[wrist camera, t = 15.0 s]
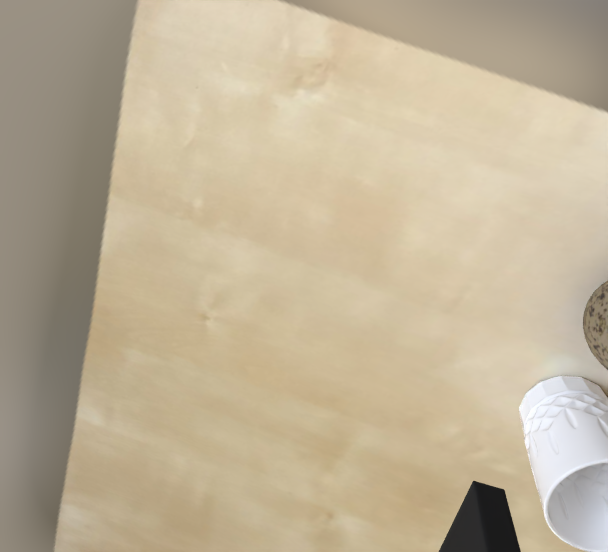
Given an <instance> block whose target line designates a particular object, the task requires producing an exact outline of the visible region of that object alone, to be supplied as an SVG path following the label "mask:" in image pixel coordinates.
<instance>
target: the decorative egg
mask: <svg viewBox="0 0 608 552" xmlns="http://www.w3.org/2000/svg"><path fill="white" fill-rule="evenodd" d="M583 329H584V334H585V338H586V341H587V343H588V345H589V347H590V350H591V351H592V353H593V354H594V356H595V357H596V358H597V360H598V361H599V362H600V363H601V364H602V365H603V366H604V367H605V368H606V369H607V370H608V281H606V282H605V283H604V284H602V285H601V286H600V287H599V288H598V289H597V290H596V291H595V292H594V293H593V295H592V296H591V297H590V299H589V301H588V303H587V305H586V308H585V311H584V317H583Z"/></svg>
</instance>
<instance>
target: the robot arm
mask: <svg viewBox="0 0 608 552" xmlns="http://www.w3.org/2000/svg"><path fill="white" fill-rule="evenodd" d="M439 552H521V551H520V548H519V544H518V540H517V536H516V532H515V529H514V525H513V521H512V517H511V513H510V510H509V506H508V502H507V498H506V494H505V491H504V489H500V488H497V487H493V486H490V485H486V484H483V483H479V482H476V481H473V482H472V485H471V487H470V489H469V491H468V493H467V495H466V497H465V499H464V501H463V503H462V505H461V507H460V509H459V511H458V513H457V515H456V517H455V519H454V521H453V524H452V526H451V528H450V530H449V532H448V534H447V536H446V538H445V540H444V542H443V544H442V546H441V548H440V550H439Z"/></svg>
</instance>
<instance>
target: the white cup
mask: <svg viewBox="0 0 608 552" xmlns="http://www.w3.org/2000/svg"><path fill="white" fill-rule="evenodd" d="M519 412H520V420H521V426H522V429H523V432H524V440H525V445H526V448H527V453H528V457H529V460H530V464H531V469H532V473H533V476H534V480H535V483H536V487H537V490H538V494H539V497H540V501H541V505H542V508H543V512H544V515H545V519H546V522H547V524H548V526H549V527H550V529H551V530H552V531H553V532H554V534H555V535H556V536H557V537H559V538H560V539H561V540H563V541H564V542H566V543H567V544H569V545H571V546H573V547H575V548H578V549H581V550H584V551H588V552H608V397H607V396H606V395H605V393H604V392H603V391H602V389H601V388H600V387H599V385H597V384H595V383H593V382H591V381H588V380H586V379H584V378H582V377H575V376H557V377H554V378H550V379H547V380H544V381H541V382H539V383H538V384H537V385H535V386H534V387H533V388H532V389H531V390H529V391H528V392H527V393H526V394H525V396H524V399H523V401H522V403H521V405H520V407H519Z"/></svg>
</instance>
